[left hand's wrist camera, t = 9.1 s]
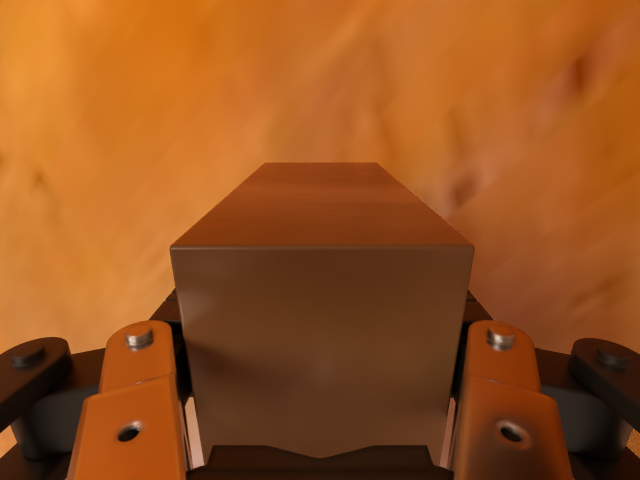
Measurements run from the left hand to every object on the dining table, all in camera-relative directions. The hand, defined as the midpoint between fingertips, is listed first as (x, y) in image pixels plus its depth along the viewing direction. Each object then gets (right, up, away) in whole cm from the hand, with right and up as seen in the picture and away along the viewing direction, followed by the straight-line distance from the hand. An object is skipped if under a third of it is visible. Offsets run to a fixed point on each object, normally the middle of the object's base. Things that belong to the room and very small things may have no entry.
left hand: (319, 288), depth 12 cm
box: (0, -6, +11) cm, 12 cm away
